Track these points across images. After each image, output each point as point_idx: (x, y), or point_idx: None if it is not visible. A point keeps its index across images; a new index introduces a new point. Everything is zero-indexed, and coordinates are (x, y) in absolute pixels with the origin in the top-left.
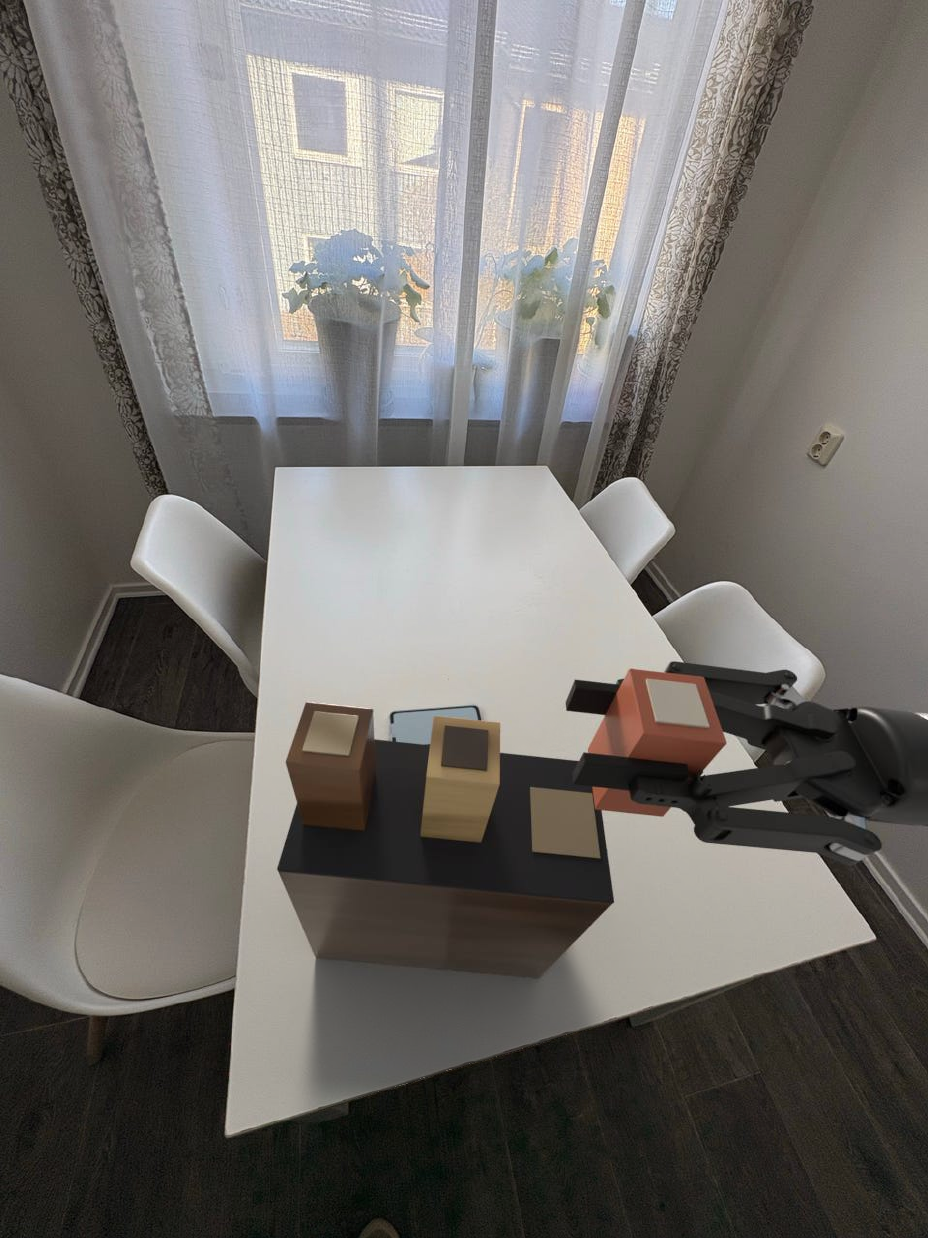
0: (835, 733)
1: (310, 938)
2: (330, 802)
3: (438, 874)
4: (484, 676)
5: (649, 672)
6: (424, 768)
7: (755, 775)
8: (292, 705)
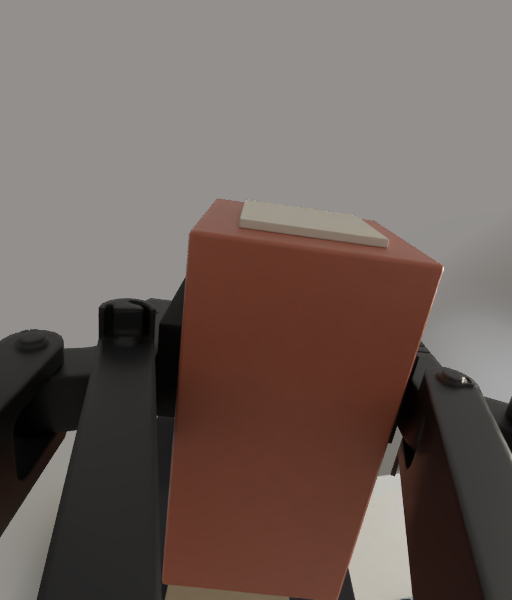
0: None
1: None
2: None
3: (165, 426)
4: None
5: (382, 227)
6: None
7: (124, 464)
8: (398, 493)
